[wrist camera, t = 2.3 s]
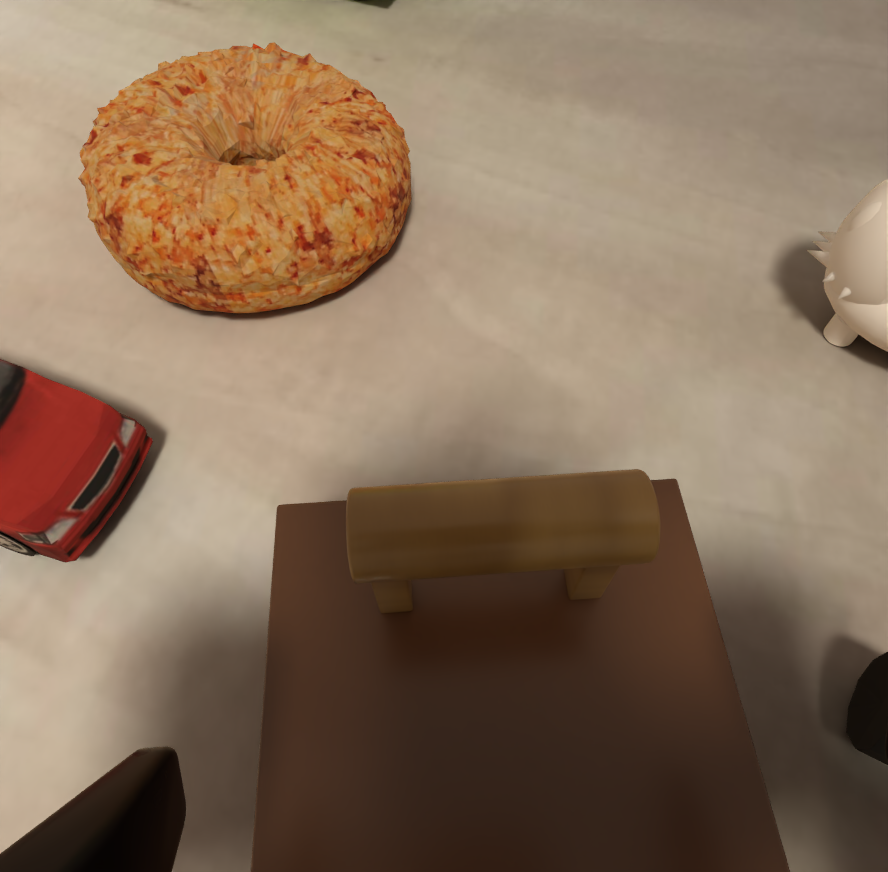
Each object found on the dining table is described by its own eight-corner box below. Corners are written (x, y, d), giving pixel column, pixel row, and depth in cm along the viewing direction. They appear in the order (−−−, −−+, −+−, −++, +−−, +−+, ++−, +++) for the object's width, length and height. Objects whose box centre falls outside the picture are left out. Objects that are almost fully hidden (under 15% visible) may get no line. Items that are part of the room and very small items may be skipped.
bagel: (90, 351, 25) (14, 249, 20) (137, 135, 32) (88, 26, 28) (429, 319, 25) (424, 215, 21) (401, 114, 32) (393, 5, 28)
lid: (284, 518, 16) (222, 399, 12) (668, 492, 16) (745, 367, 12) (240, 1182, 10) (83, 1438, 6) (843, 1125, 10) (1123, 1329, 6)
